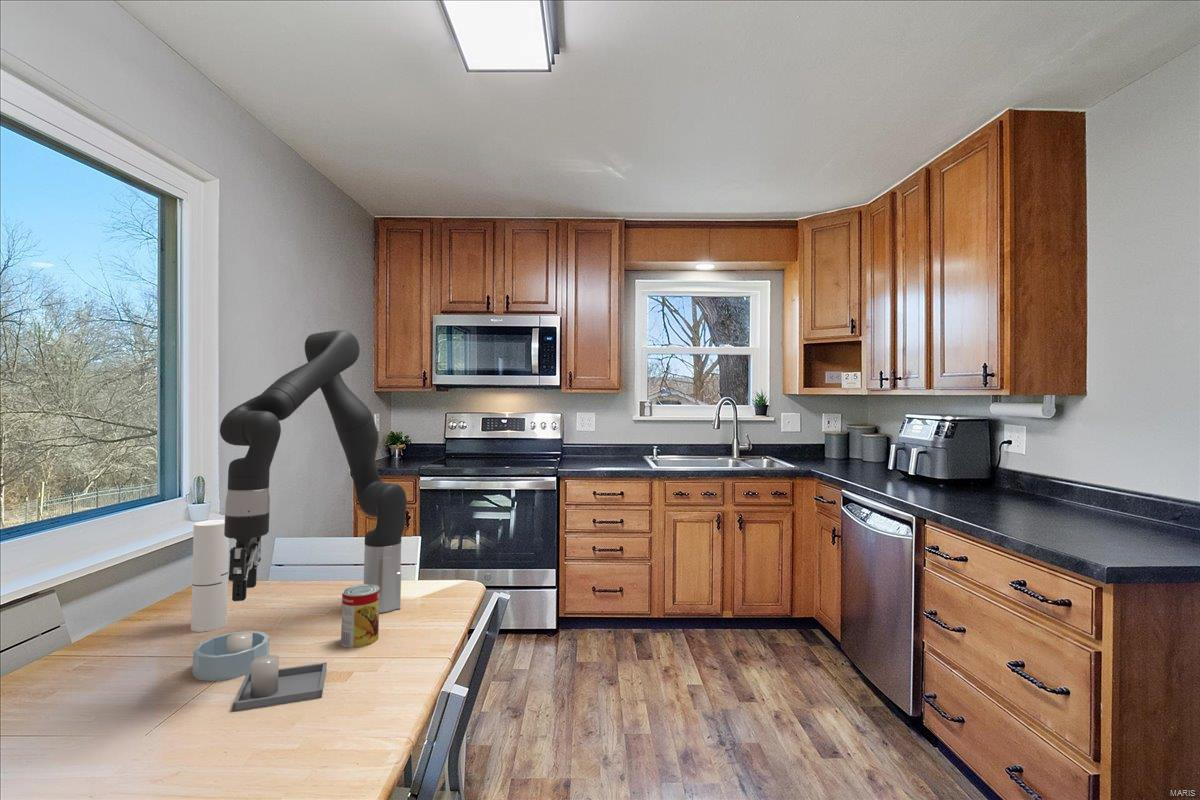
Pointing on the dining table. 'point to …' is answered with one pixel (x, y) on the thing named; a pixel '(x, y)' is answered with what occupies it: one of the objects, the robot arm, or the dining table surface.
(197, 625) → the cylindrical container
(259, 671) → the white cylinder
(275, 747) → the dining table surface
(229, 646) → the white glass cylinder
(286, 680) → the tray
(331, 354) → the robot arm
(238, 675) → the bowl
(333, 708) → the dining table surface
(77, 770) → the dining table surface
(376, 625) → the canned food
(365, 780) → the dining table surface
